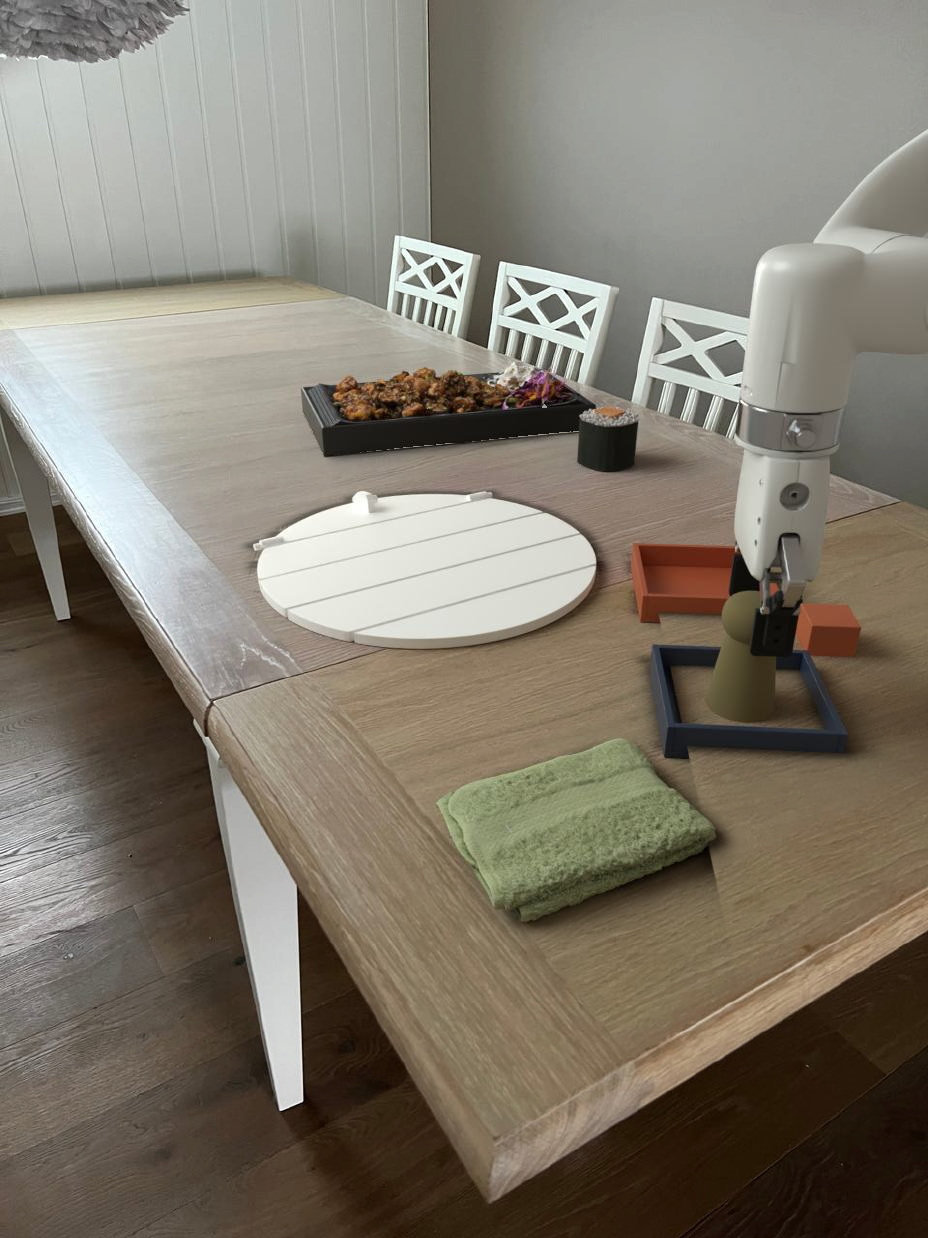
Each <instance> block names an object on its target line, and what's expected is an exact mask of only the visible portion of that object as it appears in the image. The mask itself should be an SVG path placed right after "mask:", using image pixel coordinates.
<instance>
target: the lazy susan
mask: <svg viewBox="0 0 928 1238" xmlns="http://www.w3.org/2000/svg"><path fill="white" fill-rule="evenodd" d="M493 497H494V496H493V493H492V492H491V491H488V492H487V491H486V490H484V491H479V492H473V493H471V494H465V495H464V494H450V493H449V494H447V493H446V494H445V493H420V494H419V493H418V494H416V493H415V494H403V495H402V494H401V495H393V496H392V495H391V496H383V497H378V495H377V494H372V493H371V492H368V491H364V490H362V491H361V490H360V491H357V492H356V493H355V494H354V495H353V496H352V498H351V502H349V503H346V504H342V505H338V506H335V507H332V508H328V509H326V510H322V511H320V512H317V513H314V514H312V515H310V516H307V517H305V518H303V519H301V520H298V521H297V522H295V523H293V524H292V525H290V526H288V527H286V528H285V529H283V530H282V531H281V532H279V533H278V534H277V535H276V536H273V537H269V538H265V539H260V540H259V541H258V542H256V543H253V545H252V546H253V550H254V551H255V552H259V551H262V552H261V554H260V556H259V558H258V561H257V567H256V572H257V581H258V587H259V589H260V592H261V594H262V596H263V598H264V600H265V601H266V602H267V604H268V605H269V606H271V608H272V609H274V610H275V611H276V612H277V613H278V614H280V615H281V616H282V617H284V618H285V619H287V620H288V621H290V622H292V623H294V624H296V625H298V626H299V627H302V628H304V629H307V630H308V631H311V632H314V633H316V634H319V635H321V636H324V637H328V638H332V639H335V640H340V641H342V642H343V641H344V642H349V643H350V642H351V643H352V642H354V644H358V645H363V646H364V645H365V646H372V647H380V648H391V649H392V648H393V649H409V650H410V649H411V650H413V649H414V650H416V649H417V650H418V649H419V650H423V649H425V650H429V649H450V648H460V647H469V646H476V645H482V644H488V643H494V642H497V641H498V642H499V641H502V640H506V639H510V638H514V637H517V636H521V635H524V634H527V633H530V632H532V631H535V630H537V629H541V628H543V627H545V626H547V625H549V624H551V623H553V622H555V621H557V620H559V619H560V618H563V617H564V616H565V615H567V614H569V613H570V612H572V611H573V610H574V609H575V608H576V607H578V606H579V605H580V604H581V603H582V602H583V601H584V600H585V599H586V598H587V597H588V595H589V593H590V591H591V590H592V589H593V586H594V585H595V580H596V575H597V557H596V554H595V551H594V548H593V546H592V545H591V543H590V542H589V541H588V539H587V538H586V537H585V536H584V535H583V534H582V533H581V532H580V531H578V529H576V528H575V527H574V526H572V525H571V524H569V523H567V522H565V520H562V519H560V518H558V517H556V516H554V515H552V514H550V513H547V512H544V511H542V510H539V509H537V508H533V507H530V506H527V505H524V504H520V503H516V502H512V501H508V500H502V499H498V498H493Z"/></svg>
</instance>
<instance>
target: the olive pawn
mask: <svg viewBox="0 0 928 1238" xmlns="http://www.w3.org/2000/svg"><path fill="white" fill-rule="evenodd" d="M770 596H771V597H772V595H770ZM755 608H760V592H759V591H743V592H739V593H736V594H733V595H732V596H731V597H730V598H729V599H728V600H727V601H726V602H725V605H724V607H723V610H722V614H721V624H722V627H723V629H724V631H725V634H724V637H723V641H722V642H721V643H722V644H721V646H720V647H721V650H720V653H719V656H718V659H717V662H716V666H715V667H714V669H713V672H712V676H711V679H710V682H709V685H708V688H707V692H706V695H705V699H704V700H705V704H706V706H707V708H709V710H711V712H712V713H714V714H715V715H717V716H719V717H721V718H723V719H726V720H729V721H732V722H738V723H743V724H745V723H748V724H749V723H750V724H752V723H753V724H754V723H760V722H763V721H766V720H768V719H770V718H771V716H772V715H774V713H775V709H776V708H775V707H776V674H777V671H776V670H777V669H776V657H771V656H753V655H751V653H750V650H749V647H750V640H751V634H752V627H753V620H754V614H755Z"/></svg>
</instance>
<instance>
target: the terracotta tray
mask: <svg viewBox="0 0 928 1238" xmlns="http://www.w3.org/2000/svg"><path fill="white" fill-rule="evenodd" d="M631 547H632V548H631V556H630V557H631V559H630V572H631V578H632V584H633V589H634V594H635V600H636V601H635V602H636V606H637V612H638V617H639V622H640V623H656V624H657V623H658V624H660V623H661V618H660V614H659V613H676V614H704V615H722V610H723V607H724V605H725V602H726V601H727V600H728V599H729V598H730V595H729V583H730V576H731V568H732V561H733V554H741V553H736V552H735V545H712V544H711V545H707V544H680V543H679V544H678V543H677V544H675V543H674V544H673V543H644V542H643V543H642V542H640V543H638V542H633V543H632V545H631ZM777 584H778V583H770V595H772V596H773V594H774V593H775V592H776V591H780V588H779V586H778V585H777Z"/></svg>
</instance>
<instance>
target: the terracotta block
mask: <svg viewBox="0 0 928 1238" xmlns="http://www.w3.org/2000/svg"><path fill="white" fill-rule="evenodd" d="M861 631H862V627H861V625H860V623H859V621H858V620H857V618H856V616H855V614H854V613H853V611H852V609H851V608H850V605H849V604H831V603H830V604H828V603H802V604H801V611H800V615H799V618H798V623H797V629H796V635H795V636H796V637H797V639H798V642H799V643H800V645H801V648H802V650H808V652H809V654H810V656H814V657H815V656H817V657H840V658H841V657H844V658H855V657H856V652H857V647H858V644H859V639H860V634H861Z"/></svg>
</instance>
